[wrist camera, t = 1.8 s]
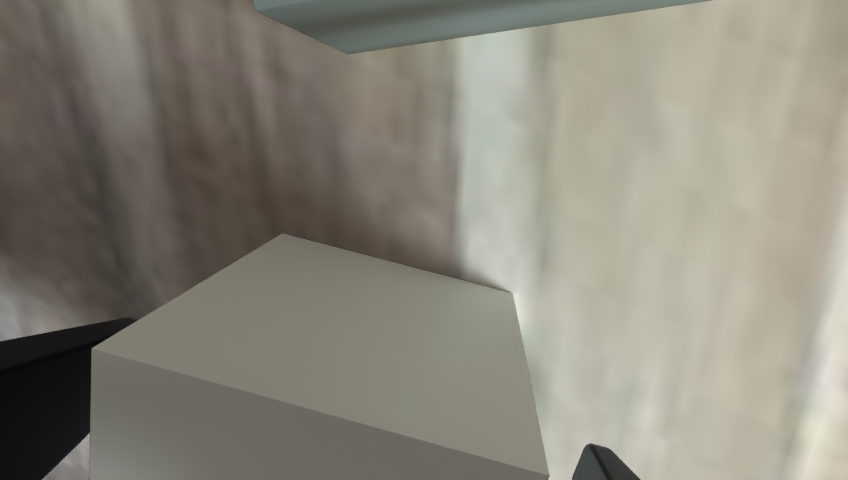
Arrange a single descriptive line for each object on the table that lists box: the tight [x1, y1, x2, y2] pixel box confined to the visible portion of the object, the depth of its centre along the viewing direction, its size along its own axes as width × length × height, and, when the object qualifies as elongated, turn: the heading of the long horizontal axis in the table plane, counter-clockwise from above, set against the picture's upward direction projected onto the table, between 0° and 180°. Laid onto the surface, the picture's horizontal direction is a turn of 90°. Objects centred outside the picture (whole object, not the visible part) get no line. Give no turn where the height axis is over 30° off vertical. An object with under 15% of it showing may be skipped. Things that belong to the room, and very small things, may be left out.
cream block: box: [89, 233, 549, 480], centre depth 8 cm, size 5×5×5 cm
